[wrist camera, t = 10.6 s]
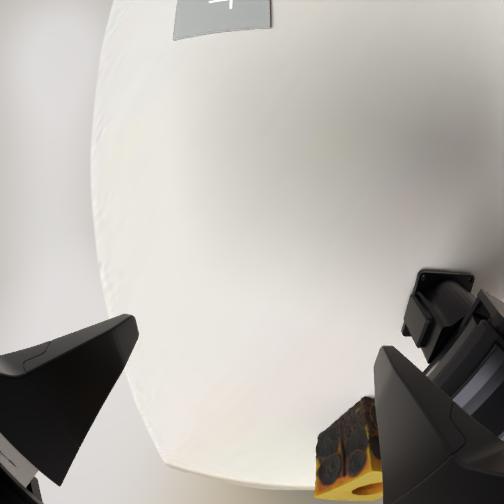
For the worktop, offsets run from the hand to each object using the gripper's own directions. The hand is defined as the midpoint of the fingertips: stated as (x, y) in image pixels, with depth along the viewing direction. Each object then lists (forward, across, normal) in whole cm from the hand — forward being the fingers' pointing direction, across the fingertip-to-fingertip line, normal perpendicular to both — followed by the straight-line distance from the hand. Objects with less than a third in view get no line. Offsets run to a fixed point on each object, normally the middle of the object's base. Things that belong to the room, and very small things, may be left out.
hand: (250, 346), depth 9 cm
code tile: (+13, +5, -21) cm, 25 cm away
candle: (+13, -13, +24) cm, 31 cm away
